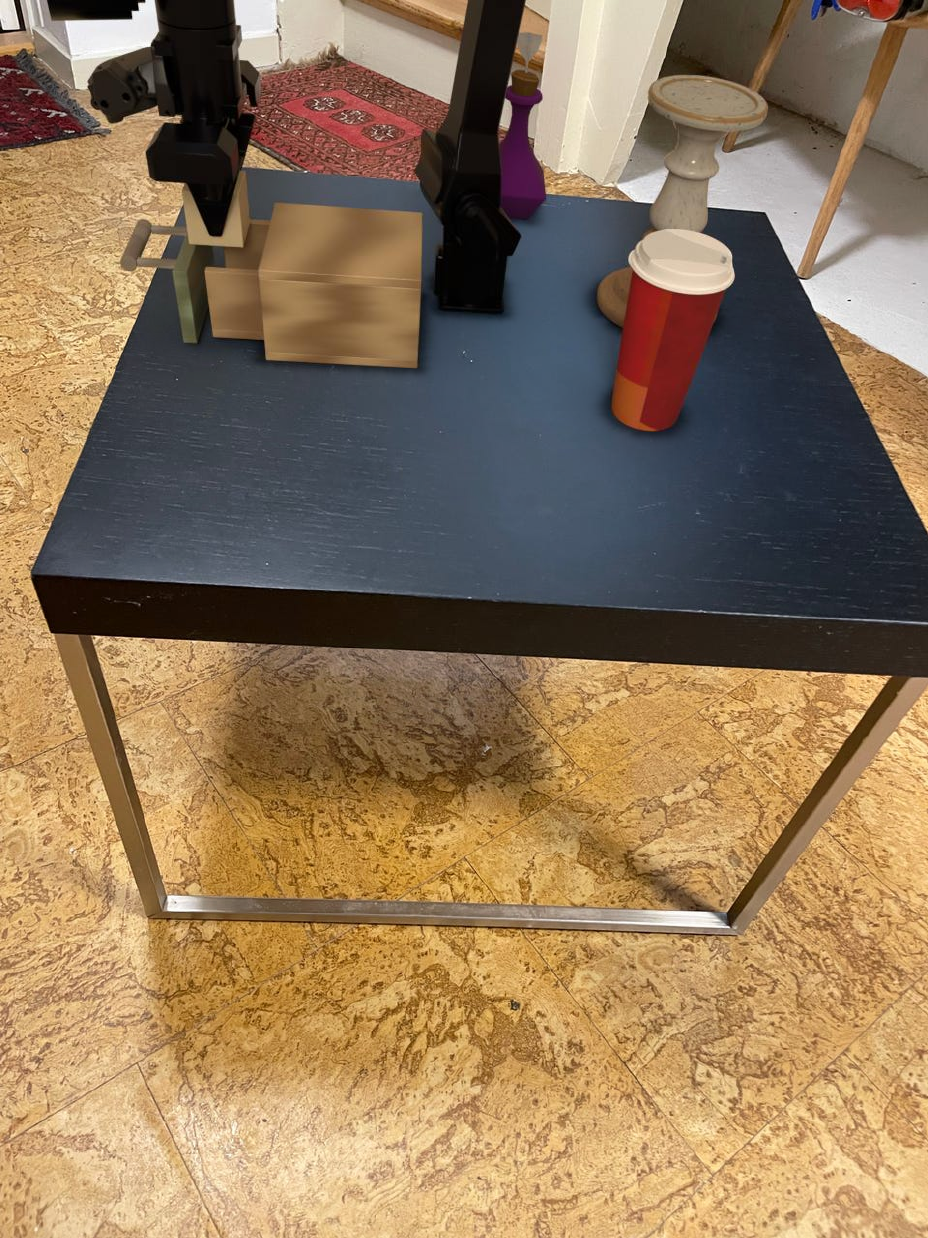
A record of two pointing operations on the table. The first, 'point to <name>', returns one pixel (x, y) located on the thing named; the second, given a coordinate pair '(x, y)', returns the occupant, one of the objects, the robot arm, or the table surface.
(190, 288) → the drawer
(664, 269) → the coffee cup
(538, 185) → the perfume bottle
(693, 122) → the candle holder
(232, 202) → the block
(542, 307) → the table surface
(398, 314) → the cabinet
